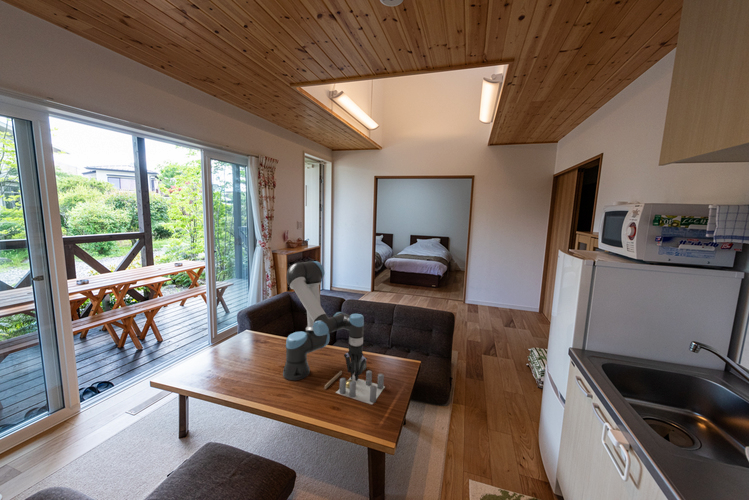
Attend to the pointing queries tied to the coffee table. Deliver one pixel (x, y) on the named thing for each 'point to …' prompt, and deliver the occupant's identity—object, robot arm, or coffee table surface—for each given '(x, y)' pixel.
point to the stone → (364, 364)
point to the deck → (360, 387)
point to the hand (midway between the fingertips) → (354, 385)
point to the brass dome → (348, 383)
